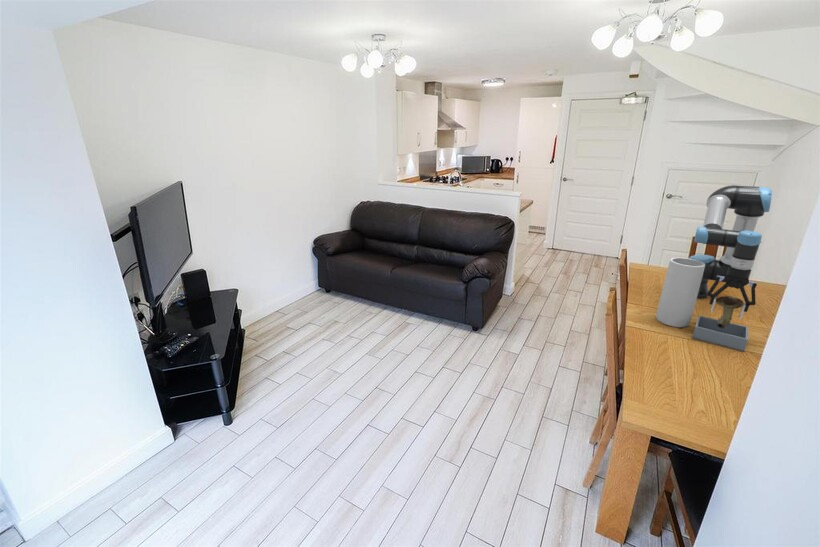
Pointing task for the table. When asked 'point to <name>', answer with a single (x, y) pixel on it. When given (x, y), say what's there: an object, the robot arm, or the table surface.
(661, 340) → the table surface
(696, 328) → the bin
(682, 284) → the vase
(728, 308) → the mushroom
